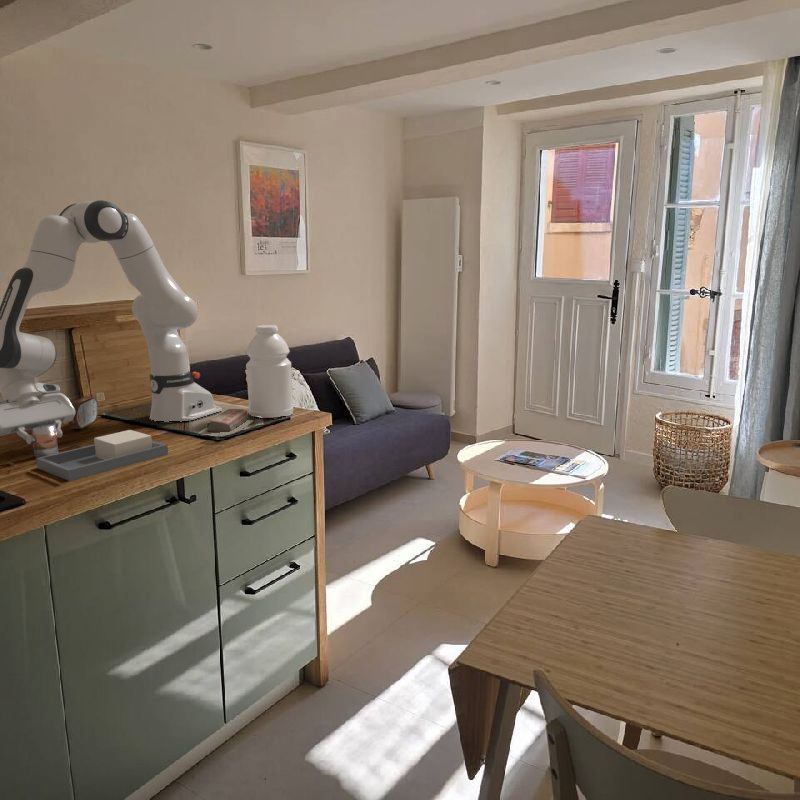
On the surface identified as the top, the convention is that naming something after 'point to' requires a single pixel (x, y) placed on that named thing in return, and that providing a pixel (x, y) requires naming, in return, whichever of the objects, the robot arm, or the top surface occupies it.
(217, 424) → the packaged product
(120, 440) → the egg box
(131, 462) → the tray
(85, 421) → the brown grey rounded block
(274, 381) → the bottle
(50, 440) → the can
